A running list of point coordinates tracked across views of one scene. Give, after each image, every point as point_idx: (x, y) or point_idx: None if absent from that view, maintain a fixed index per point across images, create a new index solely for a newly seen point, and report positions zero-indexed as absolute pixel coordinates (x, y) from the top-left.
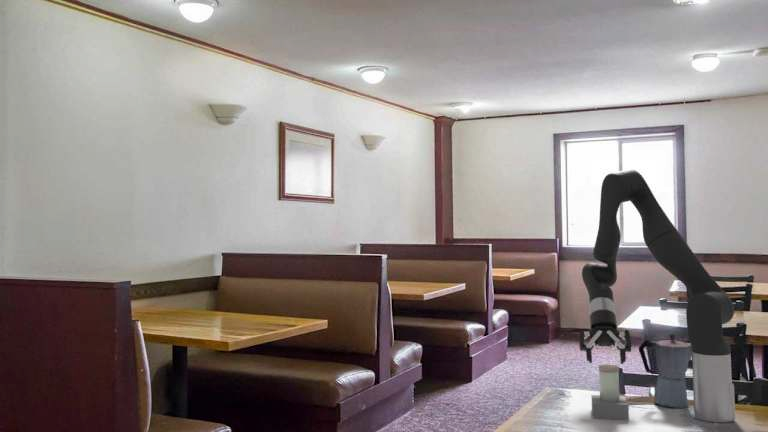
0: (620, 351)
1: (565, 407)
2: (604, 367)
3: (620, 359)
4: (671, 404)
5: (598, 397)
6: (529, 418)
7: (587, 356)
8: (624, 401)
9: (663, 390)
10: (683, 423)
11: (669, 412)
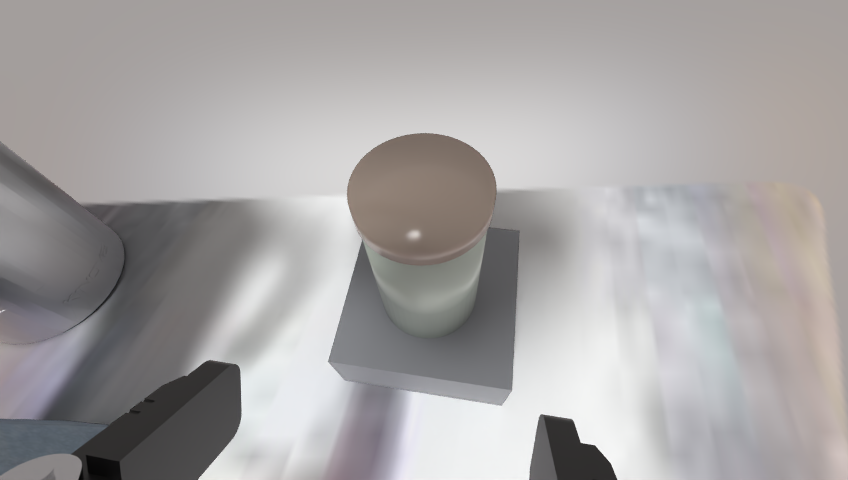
0: (148, 434)
1: (638, 445)
2: (458, 157)
3: (208, 447)
4: (96, 424)
5: (478, 333)
6: (767, 257)
7: (601, 464)
8: (368, 261)
9: (57, 451)
10: (208, 218)
11: (166, 355)
